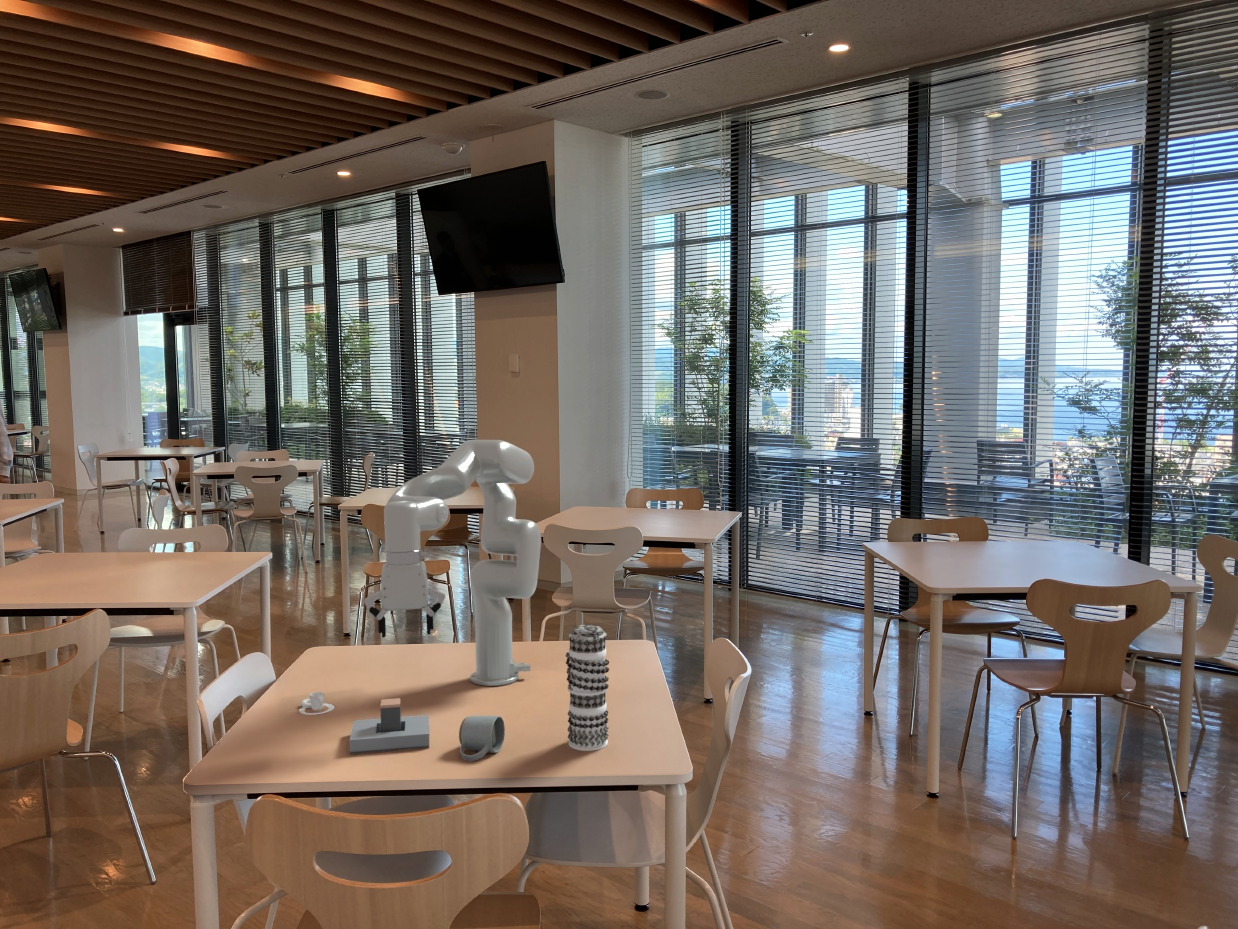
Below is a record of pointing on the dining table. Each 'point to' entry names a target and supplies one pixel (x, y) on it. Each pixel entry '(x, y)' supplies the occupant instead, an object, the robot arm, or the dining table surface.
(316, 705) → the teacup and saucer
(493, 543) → the robot arm
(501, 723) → the ceramic mug
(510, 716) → the dining table surface
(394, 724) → the charger
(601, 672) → the decorative candle
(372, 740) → the outlet box
